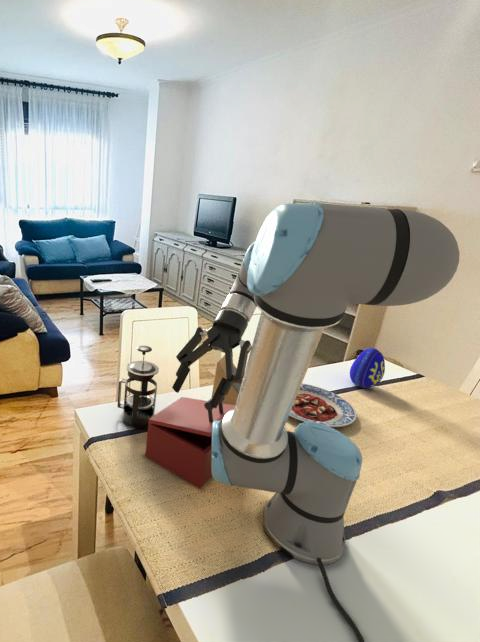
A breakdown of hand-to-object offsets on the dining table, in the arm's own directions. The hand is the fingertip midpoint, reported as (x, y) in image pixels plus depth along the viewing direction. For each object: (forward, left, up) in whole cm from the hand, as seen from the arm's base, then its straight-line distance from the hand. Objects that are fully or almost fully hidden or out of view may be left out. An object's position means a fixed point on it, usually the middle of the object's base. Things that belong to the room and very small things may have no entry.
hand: (193, 397), depth 88 cm
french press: (+21, +7, -20) cm, 29 cm away
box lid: (+3, -2, -7) cm, 8 cm away
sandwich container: (+24, -27, -20) cm, 41 cm away
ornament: (+31, -80, -20) cm, 88 cm away
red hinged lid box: (+3, -2, -19) cm, 20 cm away
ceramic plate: (+20, -50, -20) cm, 57 cm away
